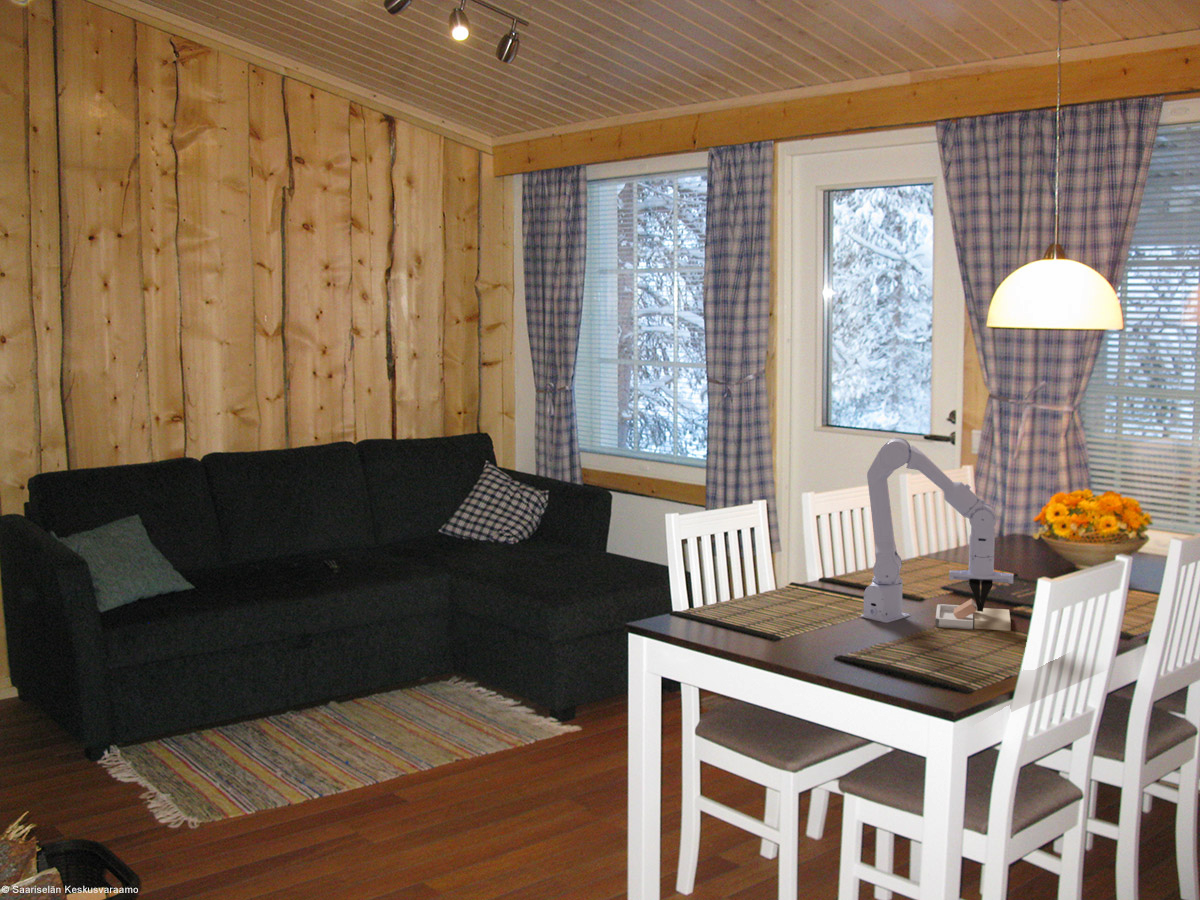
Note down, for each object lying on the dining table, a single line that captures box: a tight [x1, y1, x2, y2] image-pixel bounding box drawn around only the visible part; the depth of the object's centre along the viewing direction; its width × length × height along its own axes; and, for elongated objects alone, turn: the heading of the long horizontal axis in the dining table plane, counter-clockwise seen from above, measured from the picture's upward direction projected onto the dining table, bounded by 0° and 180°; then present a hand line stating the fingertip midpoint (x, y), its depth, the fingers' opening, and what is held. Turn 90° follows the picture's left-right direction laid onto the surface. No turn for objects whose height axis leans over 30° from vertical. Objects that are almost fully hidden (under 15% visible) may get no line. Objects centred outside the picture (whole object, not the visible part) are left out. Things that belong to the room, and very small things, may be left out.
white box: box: [973, 607, 1012, 632], centre depth 266 cm, size 8×12×2 cm, turn 162°
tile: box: [954, 598, 977, 619], centre depth 268 cm, size 5×5×2 cm
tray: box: [935, 603, 974, 630], centre depth 269 cm, size 8×14×2 cm, turn 162°
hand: (980, 610), depth 267 cm, fingers closed
